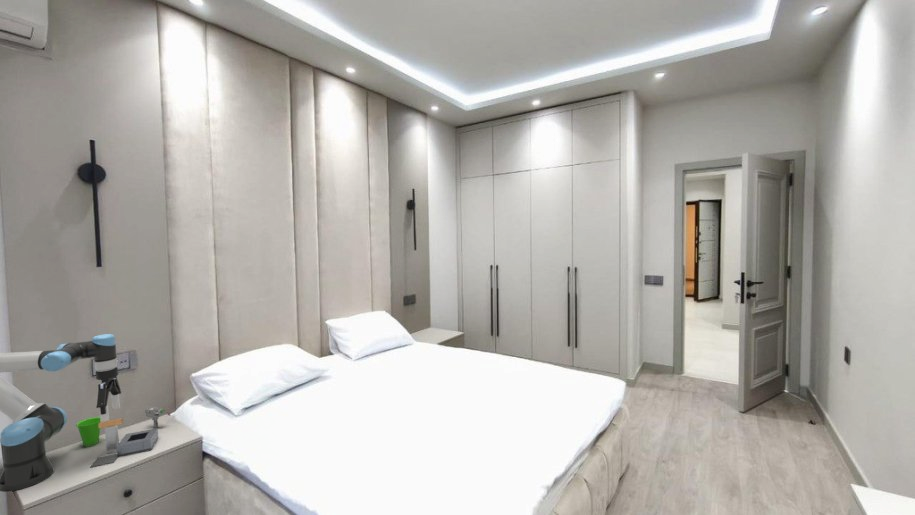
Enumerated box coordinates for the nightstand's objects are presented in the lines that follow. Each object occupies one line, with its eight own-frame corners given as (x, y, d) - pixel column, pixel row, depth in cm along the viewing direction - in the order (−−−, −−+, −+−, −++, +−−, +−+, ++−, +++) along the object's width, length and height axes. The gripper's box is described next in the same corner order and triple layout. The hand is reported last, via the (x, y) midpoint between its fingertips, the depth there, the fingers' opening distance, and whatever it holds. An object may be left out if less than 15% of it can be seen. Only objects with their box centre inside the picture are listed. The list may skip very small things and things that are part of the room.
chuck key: (122, 450, 181) (120, 420, 180) (100, 454, 178) (97, 424, 177) (125, 446, 184) (123, 417, 183) (103, 451, 181) (101, 421, 180)
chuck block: (117, 457, 175) (116, 446, 175) (126, 444, 186) (126, 434, 186) (151, 450, 180) (150, 439, 180) (158, 438, 191) (157, 428, 191)
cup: (109, 439, 192) (107, 417, 191) (90, 449, 183) (88, 426, 182) (92, 438, 193) (90, 416, 192) (72, 448, 184) (70, 425, 183)
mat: (89, 467, 168) (89, 466, 168) (97, 458, 175) (97, 457, 175) (113, 462, 171) (113, 461, 171) (120, 453, 178) (120, 452, 178)
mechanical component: (161, 429, 200) (160, 410, 199) (145, 428, 202) (143, 409, 201) (166, 426, 203) (165, 407, 202) (150, 425, 205) (149, 406, 204)
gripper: (106, 375, 169) (110, 424, 170) (126, 359, 192) (130, 402, 193) (83, 379, 166) (88, 428, 167) (106, 362, 189) (110, 405, 190)
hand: (110, 414), depth 180 cm, fingers open, 13 cm apart
